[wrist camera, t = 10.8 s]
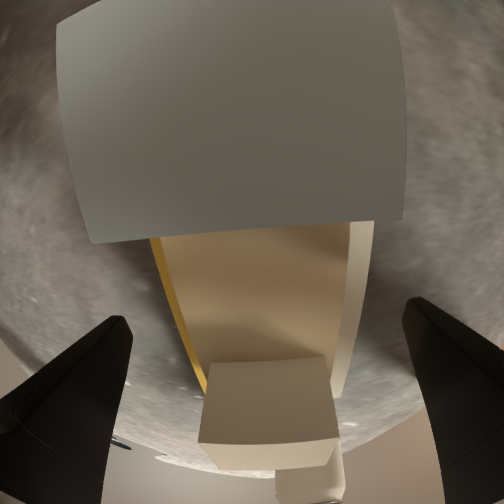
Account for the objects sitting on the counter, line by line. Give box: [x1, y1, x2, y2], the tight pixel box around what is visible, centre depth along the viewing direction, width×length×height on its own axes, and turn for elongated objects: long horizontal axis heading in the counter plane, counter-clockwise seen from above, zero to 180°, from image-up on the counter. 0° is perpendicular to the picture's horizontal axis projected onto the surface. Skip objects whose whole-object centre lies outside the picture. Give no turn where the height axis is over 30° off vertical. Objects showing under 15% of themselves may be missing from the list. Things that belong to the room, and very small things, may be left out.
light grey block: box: [56, 0, 407, 245], centre depth 5 cm, size 5×4×4 cm
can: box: [275, 440, 345, 504], centre depth 20 cm, size 6×6×12 cm
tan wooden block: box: [160, 222, 351, 381], centre depth 11 cm, size 22×6×4 cm, turn 6°
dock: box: [149, 221, 374, 398], centre depth 14 cm, size 11×30×3 cm, turn 6°
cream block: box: [198, 356, 340, 470], centre depth 10 cm, size 5×4×4 cm
